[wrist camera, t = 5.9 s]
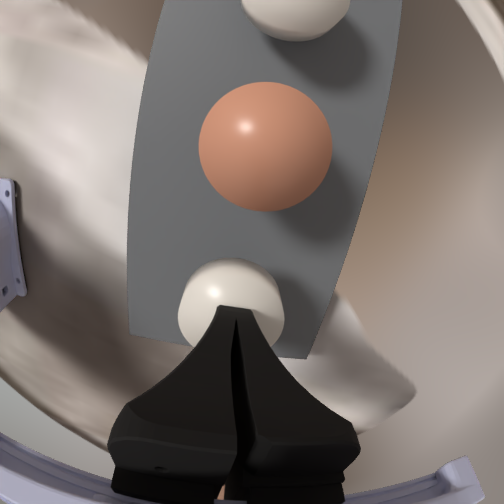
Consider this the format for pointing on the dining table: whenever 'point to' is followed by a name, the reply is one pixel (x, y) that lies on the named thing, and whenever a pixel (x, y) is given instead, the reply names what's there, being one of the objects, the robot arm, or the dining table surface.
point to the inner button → (230, 297)
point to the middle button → (265, 146)
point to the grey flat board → (215, 205)
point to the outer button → (294, 17)
